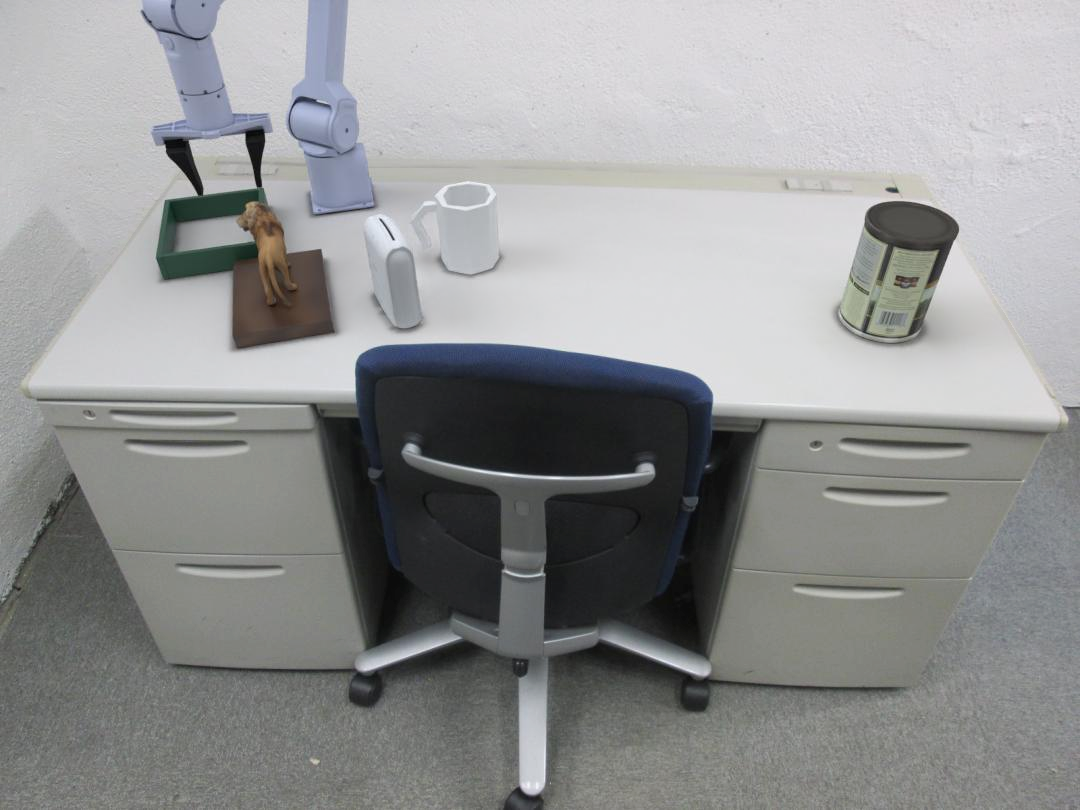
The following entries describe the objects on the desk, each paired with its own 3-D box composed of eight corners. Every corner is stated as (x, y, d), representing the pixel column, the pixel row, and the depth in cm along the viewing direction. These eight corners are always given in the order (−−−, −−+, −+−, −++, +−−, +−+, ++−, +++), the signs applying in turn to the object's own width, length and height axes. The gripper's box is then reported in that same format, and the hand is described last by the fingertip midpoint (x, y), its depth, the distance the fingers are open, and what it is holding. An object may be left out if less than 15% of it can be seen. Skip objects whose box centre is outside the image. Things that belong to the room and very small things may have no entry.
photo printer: (370, 293, 106) (356, 209, 98) (401, 285, 108) (389, 202, 100) (394, 333, 99) (380, 247, 91) (426, 324, 101) (415, 239, 93)
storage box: (268, 207, 125) (263, 187, 123) (272, 263, 112) (266, 242, 110) (171, 220, 122) (164, 199, 120) (163, 279, 109) (155, 257, 107)
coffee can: (888, 291, 106) (922, 194, 97) (938, 335, 98) (979, 235, 89) (821, 304, 104) (848, 206, 94) (866, 350, 96) (901, 248, 87)
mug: (499, 242, 116) (496, 180, 110) (499, 274, 110) (496, 209, 103) (417, 244, 116) (410, 182, 109) (413, 276, 109) (404, 212, 103)
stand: (323, 260, 113) (321, 248, 111) (334, 332, 100) (331, 319, 98) (237, 273, 110) (233, 261, 109) (236, 348, 97) (232, 335, 96)
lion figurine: (246, 260, 109) (229, 201, 103) (285, 251, 111) (270, 192, 105) (271, 314, 99) (253, 252, 93) (313, 303, 101) (298, 241, 95)
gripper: (136, 105, 94) (172, 209, 103) (261, 91, 97) (286, 194, 106) (141, 85, 99) (175, 185, 108) (260, 72, 102) (283, 171, 111)
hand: (230, 188), depth 107 cm, fingers open, 7 cm apart
